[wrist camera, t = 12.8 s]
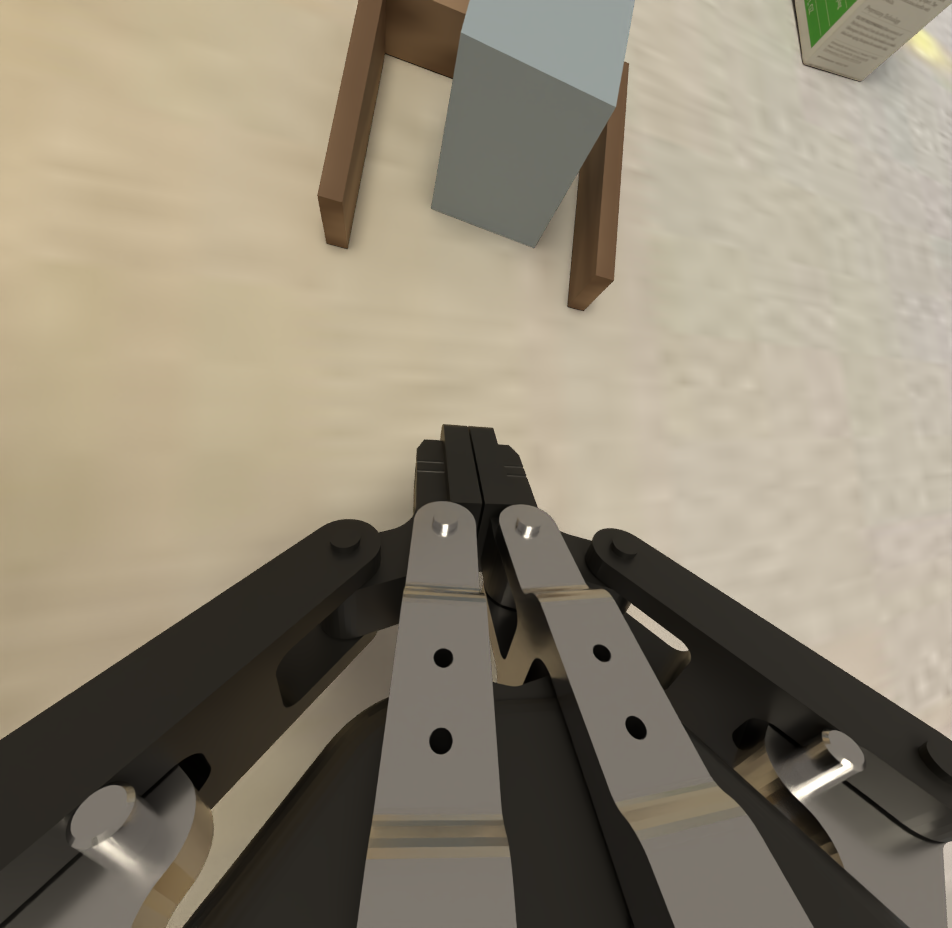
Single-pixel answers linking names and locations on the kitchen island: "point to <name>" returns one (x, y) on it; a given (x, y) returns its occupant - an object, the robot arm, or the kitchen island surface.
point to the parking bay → (435, 48)
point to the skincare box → (859, 31)
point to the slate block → (527, 108)
